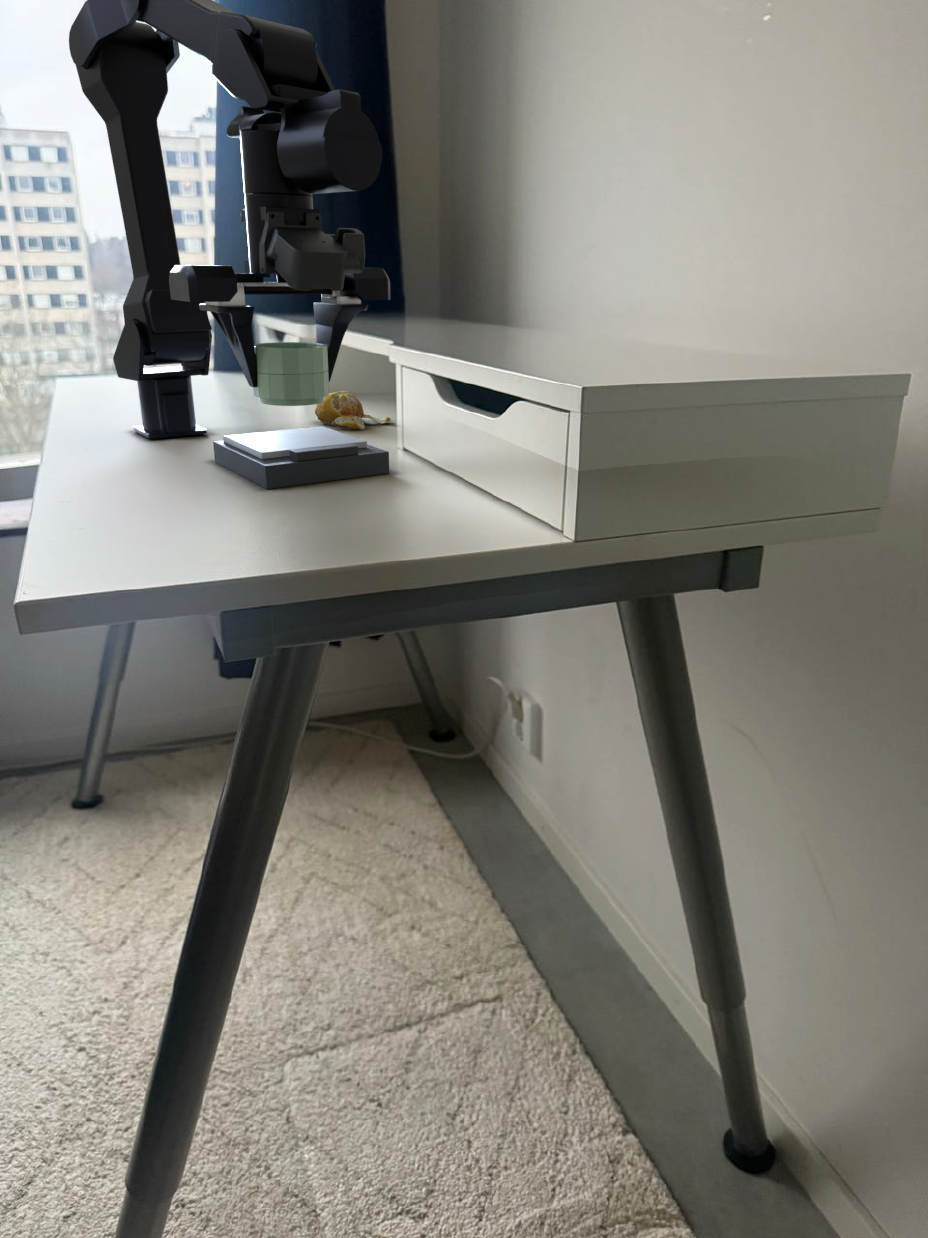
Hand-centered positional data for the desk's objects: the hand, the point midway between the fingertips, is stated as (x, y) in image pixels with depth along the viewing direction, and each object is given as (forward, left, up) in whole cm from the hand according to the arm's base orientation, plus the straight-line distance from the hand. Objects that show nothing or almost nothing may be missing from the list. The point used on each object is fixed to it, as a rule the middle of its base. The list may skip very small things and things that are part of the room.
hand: (290, 384), depth 79 cm
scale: (+1, 0, -8) cm, 8 cm away
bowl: (0, 0, -2) cm, 2 cm away
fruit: (-18, +15, -8) cm, 25 cm away
